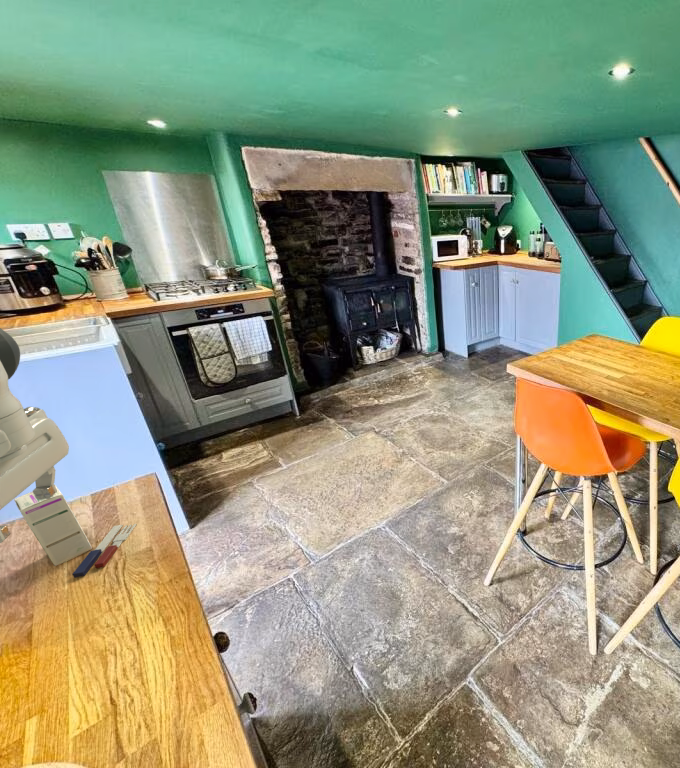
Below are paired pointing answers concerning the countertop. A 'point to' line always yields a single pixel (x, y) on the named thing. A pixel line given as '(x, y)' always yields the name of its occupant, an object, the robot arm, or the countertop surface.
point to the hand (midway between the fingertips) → (25, 516)
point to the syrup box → (54, 526)
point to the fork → (114, 546)
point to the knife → (96, 553)
